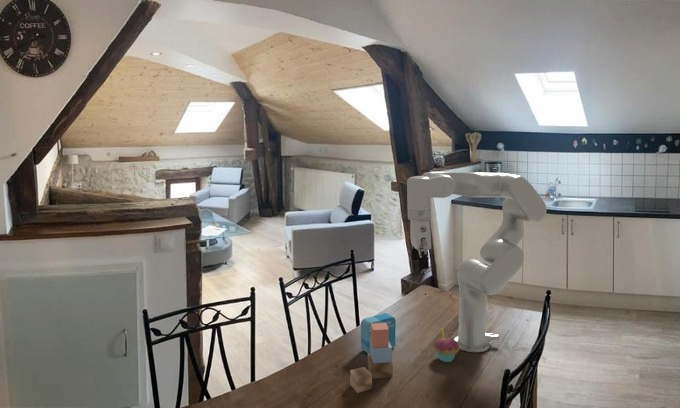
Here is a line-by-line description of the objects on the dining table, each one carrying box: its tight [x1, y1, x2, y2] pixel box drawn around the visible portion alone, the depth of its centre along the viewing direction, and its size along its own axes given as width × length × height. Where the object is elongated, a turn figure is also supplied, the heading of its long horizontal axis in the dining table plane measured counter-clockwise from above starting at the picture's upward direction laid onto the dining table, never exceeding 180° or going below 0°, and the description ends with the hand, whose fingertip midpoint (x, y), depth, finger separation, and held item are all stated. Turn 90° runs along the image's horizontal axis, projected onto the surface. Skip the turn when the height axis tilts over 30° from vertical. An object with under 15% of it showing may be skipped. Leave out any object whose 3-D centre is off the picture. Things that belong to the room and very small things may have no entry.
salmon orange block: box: [371, 323, 389, 348], centre depth 159 cm, size 5×5×6 cm
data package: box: [360, 312, 397, 355], centre depth 176 cm, size 12×4×12 cm, turn 120°
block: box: [349, 366, 373, 394], centre depth 153 cm, size 5×5×5 cm
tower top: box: [370, 340, 393, 364], centre depth 160 cm, size 6×6×5 cm
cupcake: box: [433, 327, 460, 363], centre depth 169 cm, size 9×8×12 cm
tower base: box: [367, 354, 394, 379], centre depth 161 cm, size 7×7×5 cm
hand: (420, 264), depth 166 cm, fingers open, 9 cm apart
